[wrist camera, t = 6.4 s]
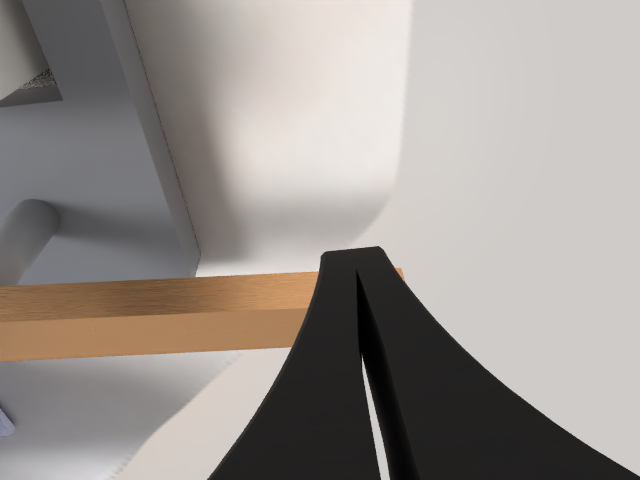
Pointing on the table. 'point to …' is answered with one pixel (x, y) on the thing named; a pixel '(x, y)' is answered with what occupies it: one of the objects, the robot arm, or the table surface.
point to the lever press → (89, 160)
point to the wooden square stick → (153, 315)
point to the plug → (18, 48)
